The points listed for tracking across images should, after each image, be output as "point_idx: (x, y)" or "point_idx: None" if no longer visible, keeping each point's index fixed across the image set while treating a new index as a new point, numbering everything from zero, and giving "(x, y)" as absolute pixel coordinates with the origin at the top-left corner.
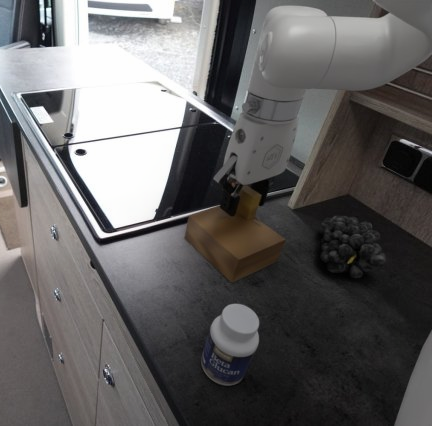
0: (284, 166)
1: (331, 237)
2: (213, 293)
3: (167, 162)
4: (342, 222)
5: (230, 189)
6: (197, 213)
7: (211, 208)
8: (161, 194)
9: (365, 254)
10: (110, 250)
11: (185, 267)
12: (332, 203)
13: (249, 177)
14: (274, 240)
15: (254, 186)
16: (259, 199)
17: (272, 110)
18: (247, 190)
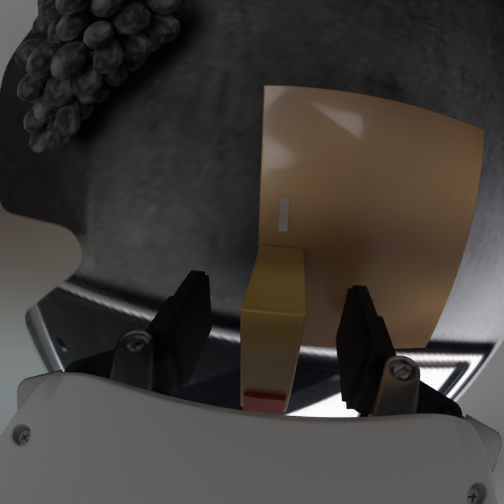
0: (47, 407)
1: (110, 46)
2: None
3: None
4: (50, 65)
5: (425, 400)
6: (402, 345)
7: None
8: (313, 405)
9: None
10: (498, 329)
11: (471, 228)
12: (21, 209)
13: (457, 463)
14: (311, 103)
15: (192, 357)
16: (254, 294)
17: None
18: (274, 364)
